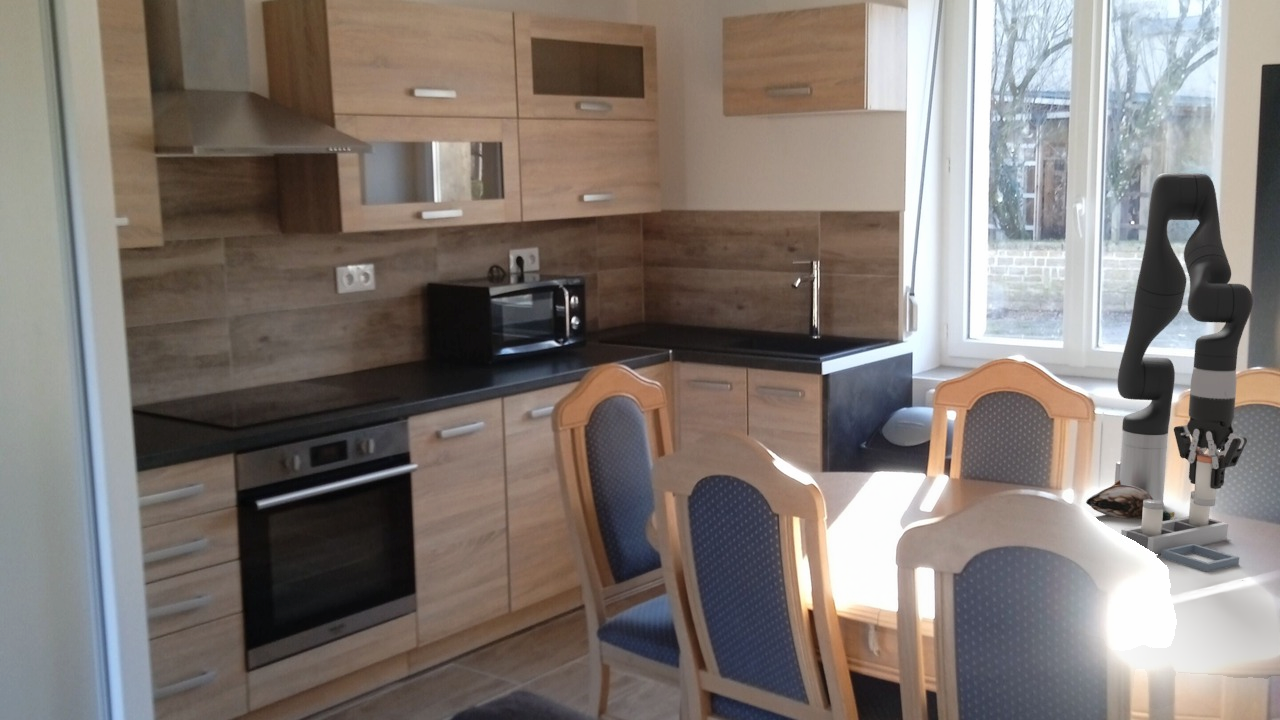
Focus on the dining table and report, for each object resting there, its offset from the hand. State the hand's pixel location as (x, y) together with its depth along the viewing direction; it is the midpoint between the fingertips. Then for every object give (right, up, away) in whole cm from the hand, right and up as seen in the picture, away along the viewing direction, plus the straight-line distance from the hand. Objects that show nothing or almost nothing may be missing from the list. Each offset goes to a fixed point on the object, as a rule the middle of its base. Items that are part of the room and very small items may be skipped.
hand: (1205, 485), depth 228 cm
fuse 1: (-6, -13, +10) cm, 18 cm away
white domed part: (+6, -12, +17) cm, 22 cm away
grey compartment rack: (0, -14, +14) cm, 19 cm away
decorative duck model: (-2, -11, +31) cm, 33 cm away
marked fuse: (0, -3, 0) cm, 3 cm away
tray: (0, -15, +2) cm, 16 cm away
